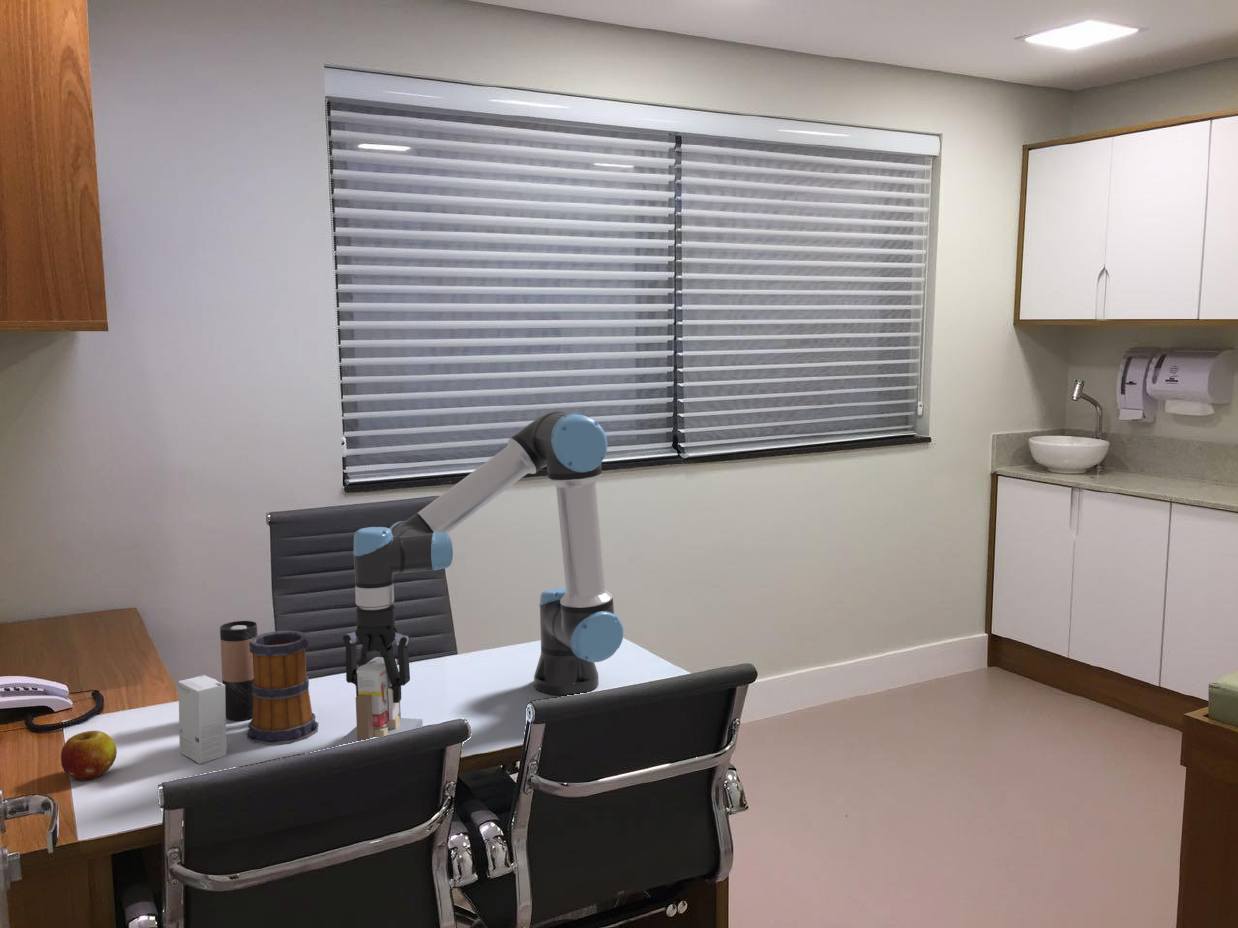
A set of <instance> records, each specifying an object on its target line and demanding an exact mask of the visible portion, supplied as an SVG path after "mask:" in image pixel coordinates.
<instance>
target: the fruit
mask: <svg viewBox="0 0 1238 928" xmlns="http://www.w3.org/2000/svg"><path fill="white" fill-rule="evenodd" d="M63 744H64V745H63V746H62V749H61V753H60V762H61V763H60V764H61V766H62V769H63V771H64V772H65V774H66V775H68V776H69V777H70V778H72V779H74V780H81V781H82V780H83V781H87V780H92V779H95V778H98V777H100V776H101V775H103V774H104V773H107V771H109V770H110V768H111V767H112V766H113V765H114V763H115V760H116V758H117V753H118V752H117V746H116V743H115V741H114V739H113V738H111V736H109V735H108V733H106V732H104V731H101V730H87V731H83V732H80V733H79V732H78V733H76V734H74V735H73V736H71V737H70V738H68V739H67V740H66V742H64V743H63Z"/></svg>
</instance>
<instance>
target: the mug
mask: <svg viewBox="0 0 1238 928" xmlns="http://www.w3.org/2000/svg"><path fill="white" fill-rule="evenodd" d="M249 646H250V652H251V653H253V671H254V682H253V684H252V693H253V713H252V719H250V721H249V723H248V730H247V733H246V735H245V736H246V739H247V740H248V741H250V742H252V743H253V744H255V745H256V744H258V745H266V746H279V745H289V744H290V745H291V744H293V743H296V742H300V741H304V740H307V739H309V738H311V737H312V736H314V735H315V734H317V733H318V732H319V722H318V721H316V714H315V713H313V710H312V708H313V707H312V704H311V696H310V689H309V686H310V682H309V681H310V680H309V675H307V663H306V662H307V659H306V648H308V646H309V641H308V636H307V634H306V633H304V632H301V631H296V630H276V631H270V632H264V633H261V634H257V636H256V637H254V638H252V639H251V641H250V643H249Z"/></svg>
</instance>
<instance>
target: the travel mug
mask: <svg viewBox="0 0 1238 928" xmlns="http://www.w3.org/2000/svg"><path fill="white" fill-rule="evenodd" d="M257 625H258V624H257V623H256V622H255V621H252V620H236V621H231V622H227V623H224V624H222V625H220V627H219V637H220V639H219V640H220V656H221V657H220V658H221V659H220V660H221V679H222V682H221V683H222V684H224V685H225V706H226V720H228V719H229V720H228V721H232V720H234V721H233V722H240V721H247V720H252V713H253V693H252V684H253V682H254V671H253V653H251V652H250V646H249V643H250V641H251V639H252V638H254V637H256V636H258V626H257Z"/></svg>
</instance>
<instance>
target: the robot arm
mask: <svg viewBox="0 0 1238 928" xmlns="http://www.w3.org/2000/svg"><path fill="white" fill-rule="evenodd" d="M607 452H608V439H607V436H606V432H605V431H604V429H603V428H602V426H601V425H600V424H599V423H598V422H597V421H595V420H594V419H592V418H590V417H589V416H586V415H584V414H580V413H571V412H563V411H552V412H547V413H544V414H543V415H541V416H539V417H537V418H536V419H534V420H533V421H532V422H530V423H529V424H527V425H526V426H525V427H523V428H522V429H521V430H520V431H518V432H517V433H515V434H514V435H513V436H512V437H510V438H509V439H508V441H507V446H506V447H504V448H503V449H501V450H500V451H498V453H496V454H495V455H493V456H492V457H491V458H489V460H487V461H486V462H484V463H483V464H481V465H480V466H479V467H477V468H476V469H475V470H473V471H472V472H471V473H469V474H468V475H467V476H466V477H464V478H463V479H461V480H460V481H458V482H457V483H455V485H452V487H450V488H449V489H447V490H446V491H445V492H444V493H442V494H441V495H440V496H438V497H437V498H435V499H434V500H433V501H432V502H430V503H429V504H427V505H426V506H425V507H423V508H422V509H421V510H420V511H418V512H417V513H415V514H414V515H412V516H411V517H409V518H408V519H406V520H404V521H403V520H402V521H397V522H395V523H393V524H391V526H390V527H389V528H388V527H385V526H378V527H377V526H371V527H362V528H360V529H358V530H356V531H355V532H354V535H353V552H352V554H353V565H354V566H353V568H354V584H355V585H354V587H355V588H354V590H355V591H354V592H355V594H354V595H355V605H356V606H357V607H356V608H355V613H356V614H355V615H356V616H355V617H356V629H355V631H353V632H352V631H350V632H348V633H346V634H345V635H343V637H342V640H343V643H344V645H345V680H346V682H347V683H348V684H350V683H351V684H353V685H355V695H356V696H355V698H356V697H357V696H358V677H357V670H358V667H360V666H362V665H365V664H367V663H368V662H369V661H370V660H371V657H372V653H373V652H379V653H380V657H383V659H384V662H385V666H386V669H387V672H388V676H389V679H390V682H391V687H389V688H388V701H389V720H393V719H394V718H396V717H397V716H398V702H400V703H401V702H402V686H406V684H407V683H409V682H410V680H411V673H410V658H409V657H410V656H409V644H410V640H411V635H409V634H405V635H404V634H401V633H398V630H397V628H396V612H395V610H396V609H395V605H394V602H395V590H394V589H395V587H394V575H396V574H398V575H400V574H408V573H418V572H427V571H434V572H435V571H438V570H443V569H447V568H450V567H451V565H452V563H453V558H454V551H453V549H454V548H453V542H452V539H451V537H450V535H449V533H450V532H452V531H453V530H454V529H455V528H457V527H458V526H459V525H461V524H462V523H464V522H465V521H466V520H467V519H469V518H470V517H471V516H472V515H474V514H475V513H477V512H478V511H479V510H481V509H482V508H483V507H484V506H485V507H486V505H488V504H489V503H490V502H492V501H493V500H494V499H495V498H497V497H498V496H500V495H501V494H502V493H503V492H505V491H506V490H508V489H509V488H510V487H512V486H513V485H515V483H517V482H518V481H519V480H520V479H522V478H524V477H525V476H526V475H527V474H533V475H534V474H537V473H538V472H539V471H541V470H542V469H543V468H546V470H547V478H548V481H550V482H551V483H552V484H554V486H555V490H556V498H557V511H558V519H559V529H560V531H559V532H560V539H561V550H562V563H563V572H564V582H565V584H564V585H565V586H563V587H555V588H550V589H546V590H544V591H543V592H541V593H540V601H539V612H540V613H539V615H540V616H539V618H540V620H539V622H540V624H539V625H540V656H539V659H538V662H537V666H536V669H535V672H534V675H533V684H534V685H533V687H534V688H535V689H536V690H537V691H538V692H542V693H545V694H547V695H549V694H550V695H555V696H556V695H557V696H570V695H569V694H574V695H577V694H576V693H581V694H584V693H583V692H585V693H588V692H590V691H593V690H595V689H596V688H597V687H598V686H599V681H600V680H599V672H598V670H597V666H596V664H595V663H599V662H603V661H606V660H608V659H610V658H611V657H612V656H614V654H615V653H616V652H617V650H619V648H620V647H621V645H622V643H623V640H624V632H625V631H624V626H623V623H622V621H621V620H620V618H619V617H618V616H617V615H616V614H615V609H614V608H615V607H614V598H613V593H611V592H610V591H608V589H606V585H605V575H604V563H603V552H602V551H603V550H602V541H601V528H600V519H599V518H600V517H599V507H598V505H599V504H598V496H597V481H598V480H599V479H600V478H601V476H602V475H603V472H602V471H603V470H602V463H603V460H604V459H605V458H606V455H607ZM357 641H359V642H360V644H361V645H362V646H361V650H360V658H359V663H357V662H358V658H357V656H358V654H357ZM394 641H396V646H397V662H398V663H397V664H396V660H395V659H396V658H395V654H394V646H393V645H392V644H393V643H394ZM357 664H358V665H357Z"/></svg>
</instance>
